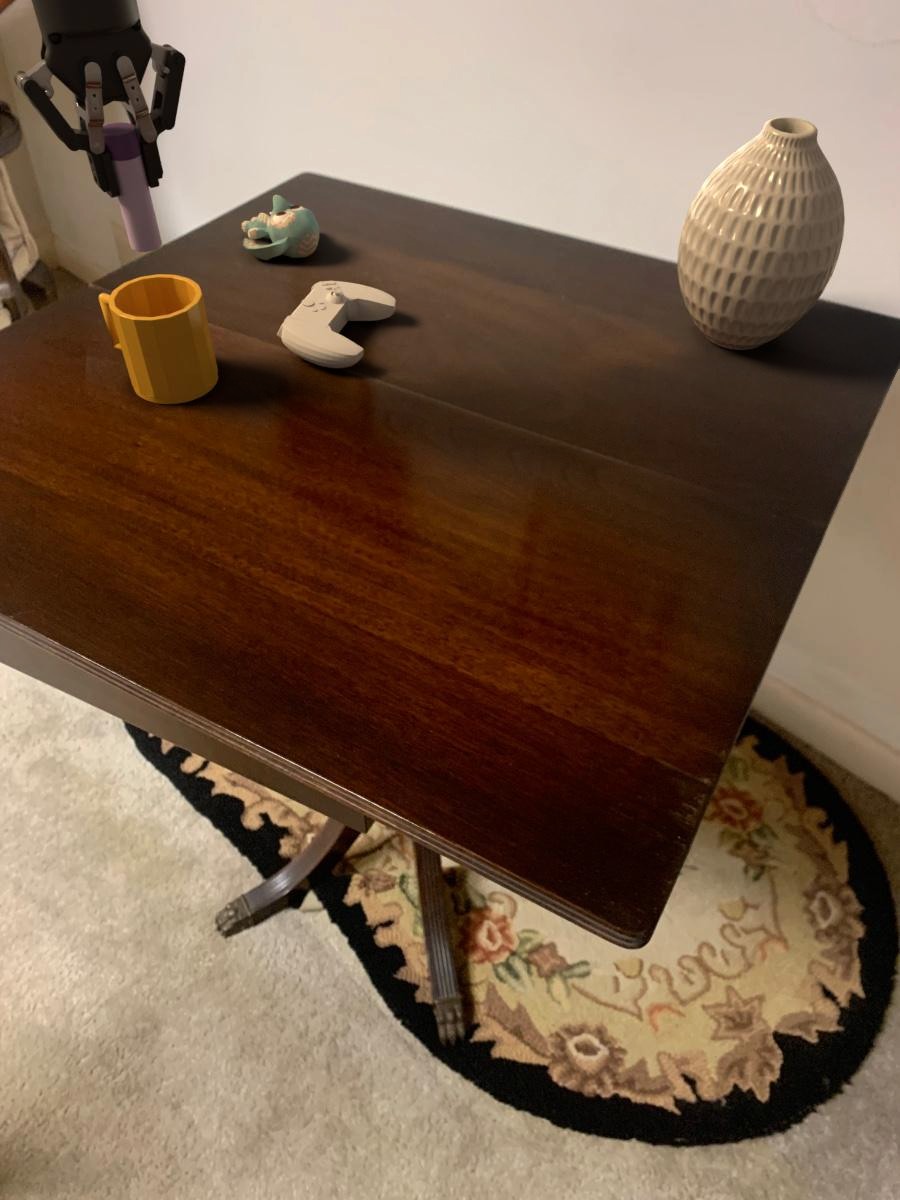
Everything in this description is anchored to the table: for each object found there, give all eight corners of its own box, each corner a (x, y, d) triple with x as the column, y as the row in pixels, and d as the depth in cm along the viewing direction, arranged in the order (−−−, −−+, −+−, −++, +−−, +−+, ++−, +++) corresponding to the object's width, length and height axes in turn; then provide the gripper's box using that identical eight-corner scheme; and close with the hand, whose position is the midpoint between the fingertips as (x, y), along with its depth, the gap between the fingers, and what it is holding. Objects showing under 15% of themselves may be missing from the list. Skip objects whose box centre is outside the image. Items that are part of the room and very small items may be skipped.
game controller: (357, 355, 91) (267, 320, 91) (351, 389, 94) (265, 355, 95) (404, 289, 100) (322, 258, 101) (397, 322, 104) (318, 291, 104)
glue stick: (127, 253, 80) (95, 136, 73) (132, 237, 82) (102, 122, 75) (160, 252, 80) (133, 135, 73) (165, 237, 82) (138, 121, 75)
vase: (637, 309, 104) (676, 104, 88) (758, 290, 108) (816, 89, 92) (704, 384, 94) (762, 168, 78) (835, 360, 98) (917, 148, 81)
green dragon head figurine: (270, 177, 115) (334, 184, 108) (284, 233, 120) (347, 243, 113) (206, 204, 109) (270, 213, 103) (224, 262, 114) (286, 274, 107)
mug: (234, 369, 95) (219, 286, 88) (185, 413, 89) (164, 328, 82) (145, 342, 98) (123, 260, 91) (92, 383, 92) (64, 299, 85)
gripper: (144, -73, 69) (189, 157, 82) (-42, -50, 64) (38, 192, 77) (183, -52, 65) (224, 186, 78) (-12, -26, 60) (67, 226, 73)
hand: (131, 188), depth 77 cm, fingers closed on glue stick, 3 cm apart
